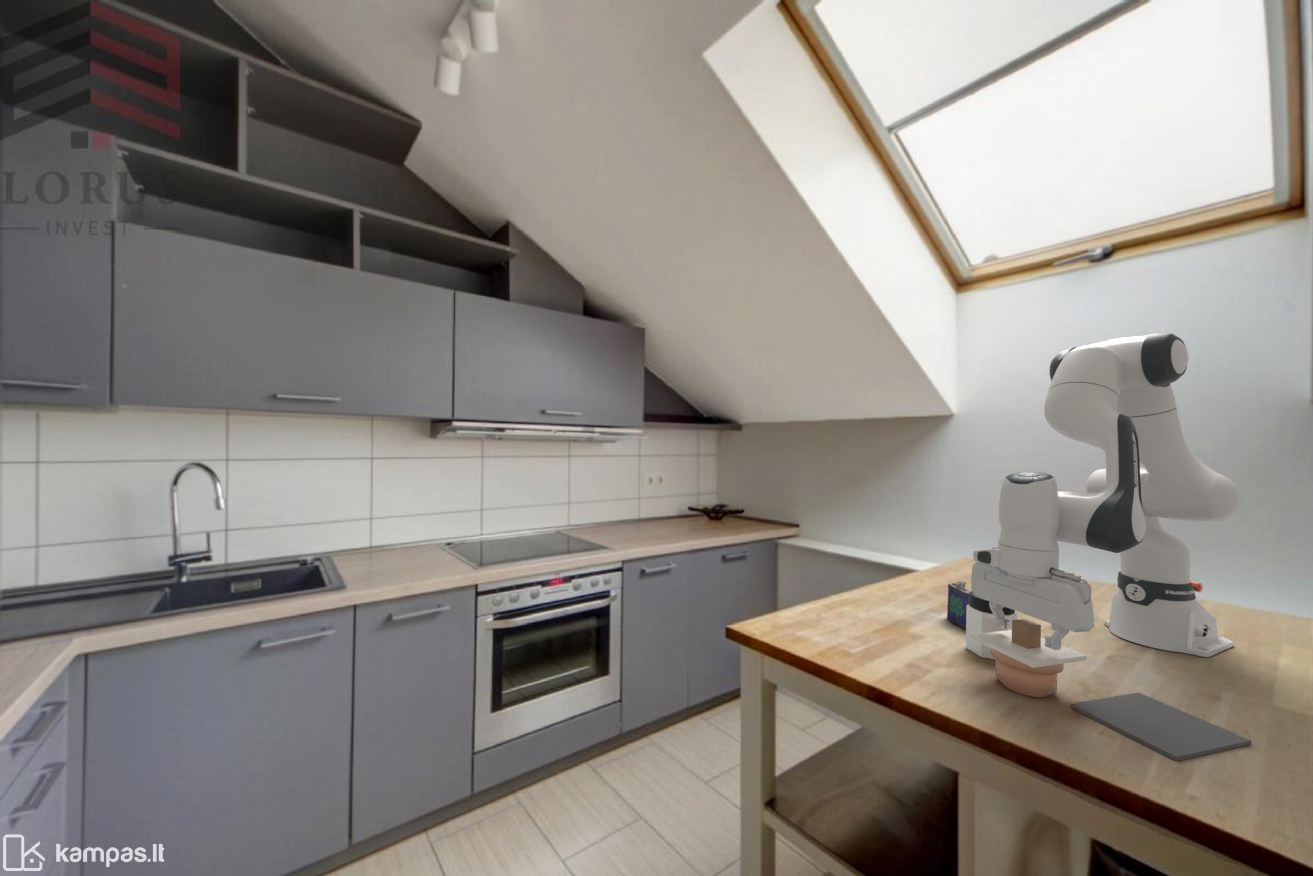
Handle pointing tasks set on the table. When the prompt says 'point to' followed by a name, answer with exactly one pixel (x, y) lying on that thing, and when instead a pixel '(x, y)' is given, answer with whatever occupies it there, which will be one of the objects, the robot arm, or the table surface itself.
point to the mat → (1160, 726)
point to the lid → (1027, 645)
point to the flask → (957, 603)
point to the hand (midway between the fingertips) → (1026, 637)
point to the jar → (983, 623)
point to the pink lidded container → (1026, 676)
